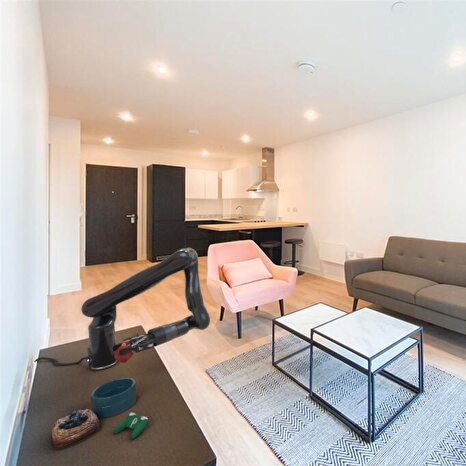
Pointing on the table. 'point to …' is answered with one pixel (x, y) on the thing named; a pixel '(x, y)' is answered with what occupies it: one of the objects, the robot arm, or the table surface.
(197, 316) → the robot arm
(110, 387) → the pot
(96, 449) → the table surface
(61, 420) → the pastry
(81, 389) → the table surface
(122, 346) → the onion
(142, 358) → the table surface
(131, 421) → the gaming controller
